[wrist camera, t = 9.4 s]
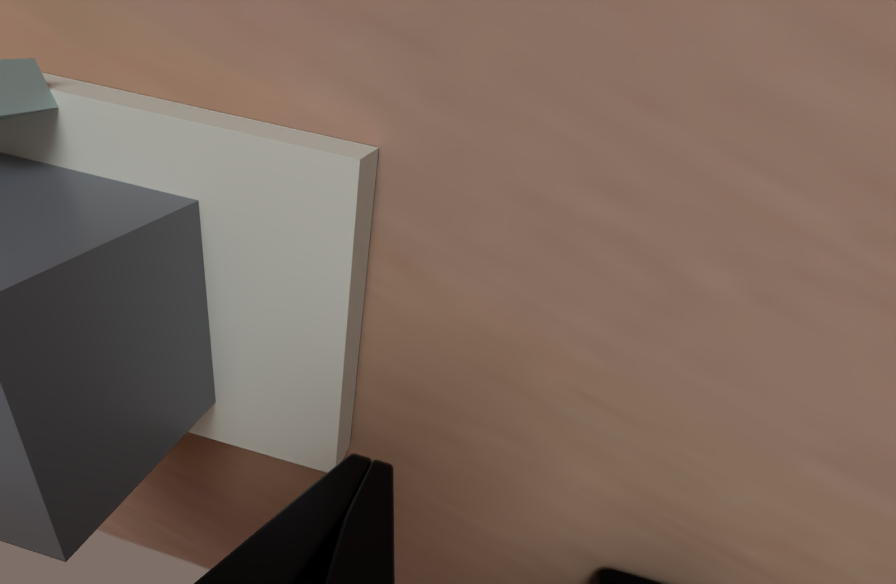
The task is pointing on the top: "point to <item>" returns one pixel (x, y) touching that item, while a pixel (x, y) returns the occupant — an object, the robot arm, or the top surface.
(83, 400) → the grey block
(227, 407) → the board
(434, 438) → the top surface
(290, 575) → the robot arm
